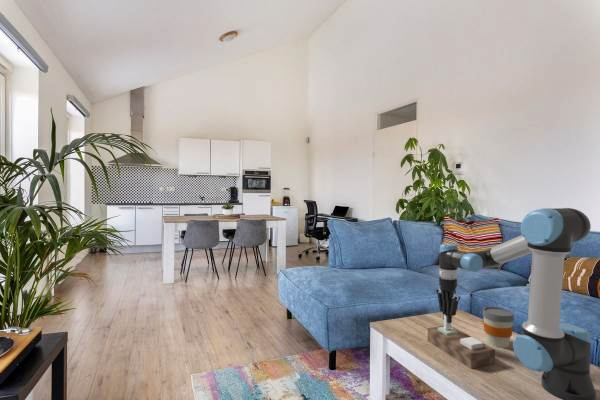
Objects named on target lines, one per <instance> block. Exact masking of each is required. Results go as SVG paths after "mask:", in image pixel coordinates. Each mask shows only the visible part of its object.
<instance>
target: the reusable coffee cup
mask: <svg viewBox="0 0 600 400" xmlns="http://www.w3.org/2000/svg"><path fill="white" fill-rule="evenodd" d="M514 315H515V314H514V312H513V311H512V310H510V309H507V308H504V307H500V306H499V307H498V306H485V307H483V309H482V317H483V320H482V323H483V324H482V325H483V332H484V333H485V340H486V341H485V342H486V343H487V345H490V346H492V347H495V348H501V349H506V348H509V347H510V341H511V337H512V335H513V330H514V325H513V324H514V321H515V316H514Z"/></svg>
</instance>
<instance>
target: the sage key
mask: <svg viewBox="0 0 600 400" xmlns="http://www.w3.org/2000/svg"><path fill="white" fill-rule="evenodd" d="M438 327H439V326H438ZM453 328H454V327H453ZM453 328H451V329H448V330H445V329H444V327H439V328H438V331H440V332H441V333H443V334H445V335H453V334H458V331H456V330H454V329H453Z"/></svg>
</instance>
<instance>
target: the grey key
mask: <svg viewBox="0 0 600 400" xmlns="http://www.w3.org/2000/svg"><path fill="white" fill-rule="evenodd" d="M460 343H461V344H462V345H464V346H466V347H467V348H469V349H471V350H473V349H478V348H483V343H484V342H482V341H480V340H479V339H476V338H475V337H473V336H470V337H468V338H462V339H460Z"/></svg>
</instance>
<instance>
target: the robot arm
mask: <svg viewBox="0 0 600 400" xmlns="http://www.w3.org/2000/svg"><path fill="white" fill-rule="evenodd" d="M591 225H592V224H591V221H590V219H589V217H588V216H587V215H586V214H585V213H584V212H582V211H581V210H578V209H575V208H570V207H564V208H563V207H562V208H561V207H560V208H555V207H554V208H545V207H544V208H540V209H539V208H538V209H534V210H532V211H530V212H528V213H527V214H526V215H525V216H524V217H523V218H522V220H521V223H520V233H521V235H519V236H516V237H514V238H511V239H510V240H507V241H504V242H501V243H500V244H497V245H494V246H493V247H489V248H488V249H485V250H475V251H462V250H459V249H458V248H459V247H458V245H457V244H455V243H448V242H447V243H441V244H440V245H439V251H438V253H439V255H438V256H439V260H438V261H439V263H438V264H439V266H438V267H439V269H438V270H439V271H438V272H439V274H438V276H439V277H438V281H439V282H438V284H439V286H440V287H439V288H438V289H435V291H436V293H437V301H438V307H439V311H440V312H441V313H442V314H443V315H442V318H443V319H442V321H443V326H444V329H445V330H448V329H451V327H452V320H453V319H452V318H453V317H455V316H456V315H457V310H458V306H459V301H460V300H461V296H459V295H457V291H456V288H457V287H458V269H460V270H461V269H462V270H464V271H466V272H472V273H477V272H479V271H480V270H481V269H487V268H488V269H489V268H491V269H492V268H493V269H494V268H498V267H501V266H502V265H503V264H504V263H508V262H510V261H514V260H516V259H519V258H522V257H524V256H528V255H531V267H530V268H531V270H530V283H529V298H528V312H527V314H528V315H527V320H526V321H524V322H523V323H522V325H521V333H520V334H518V336H516V337H515V338H514V340H513V342H512V347H513V352H514V354H515V355H516V357H517V358H518V360H519V362H520V363H521V364H522V365H523V366H524V367H526V368H527V369H529V370H531V371H533V372H536V373H542V372H543V373H542V374H541V382H540V383H541V386H542V388H543V389H544V390H545V391H547V392H548V393H550V394H551V395H553V396H555V397H557V398H560V399H562V400H597V391H596V389H595V386H594V383H593V380H592V377H591V375H590V373H591V371H590V369H591V344H592V342H591V334H590V332H589V331H587V330H586V329H585V328H582V327H579V326H577V325H573V324H571V323H566V322H561V321H560V320H561V310H562V309H561V308H562V307H561V306H562V296H563V295H562V293H563V292H562V291H563V281H564V280H563V279H564V267H565V257H566V256H568V255H569V254H571V252H572V243H577V242H581V241H582V240H584V239H585V238H586V237H588V236H589V234H590V232H591Z"/></svg>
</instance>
